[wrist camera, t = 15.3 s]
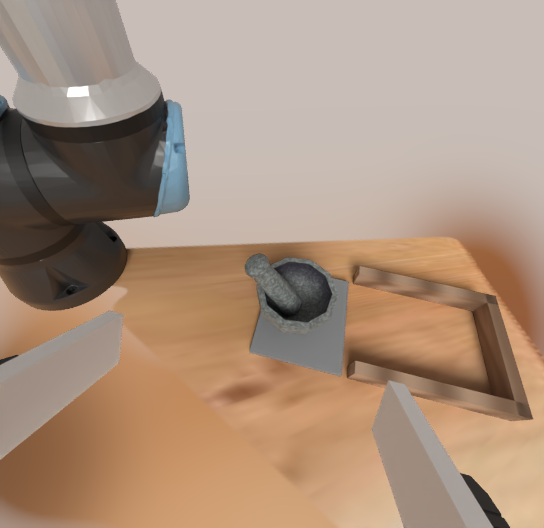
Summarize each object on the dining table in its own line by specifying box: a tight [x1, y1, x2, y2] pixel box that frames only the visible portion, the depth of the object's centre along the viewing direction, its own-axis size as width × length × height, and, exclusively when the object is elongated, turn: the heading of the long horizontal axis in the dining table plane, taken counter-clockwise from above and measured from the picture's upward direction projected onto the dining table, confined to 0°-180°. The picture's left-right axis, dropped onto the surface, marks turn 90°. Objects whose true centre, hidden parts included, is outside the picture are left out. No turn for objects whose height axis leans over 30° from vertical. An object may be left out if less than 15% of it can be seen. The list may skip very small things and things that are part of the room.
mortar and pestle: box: [245, 254, 338, 335], centre depth 31 cm, size 11×9×12 cm
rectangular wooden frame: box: [347, 266, 533, 421], centre depth 35 cm, size 20×16×3 cm
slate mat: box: [250, 278, 349, 376], centre depth 37 cm, size 12×14×1 cm
